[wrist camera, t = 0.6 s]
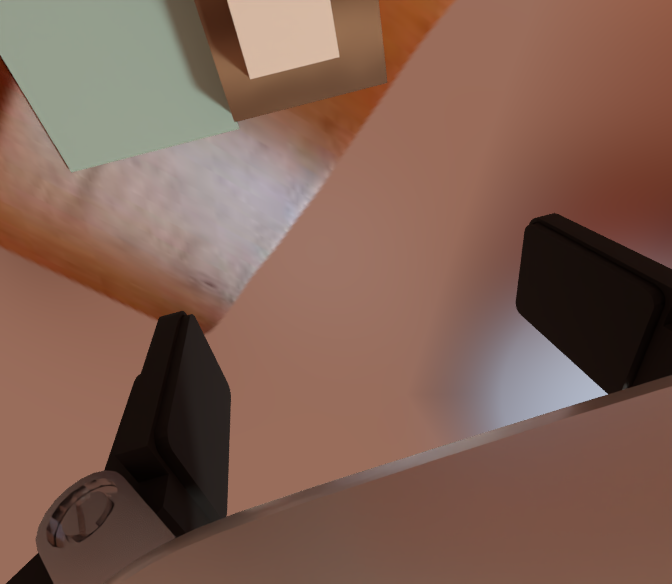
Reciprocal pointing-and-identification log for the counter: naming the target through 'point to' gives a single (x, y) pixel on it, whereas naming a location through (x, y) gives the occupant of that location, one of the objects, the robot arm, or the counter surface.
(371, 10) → the plate
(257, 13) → the beige rectangular block
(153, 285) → the counter surface
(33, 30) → the mat
